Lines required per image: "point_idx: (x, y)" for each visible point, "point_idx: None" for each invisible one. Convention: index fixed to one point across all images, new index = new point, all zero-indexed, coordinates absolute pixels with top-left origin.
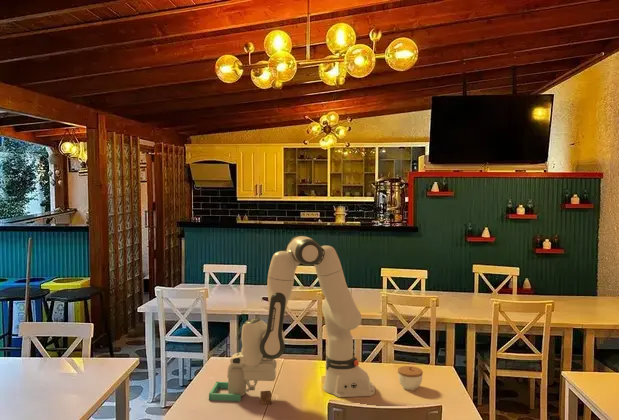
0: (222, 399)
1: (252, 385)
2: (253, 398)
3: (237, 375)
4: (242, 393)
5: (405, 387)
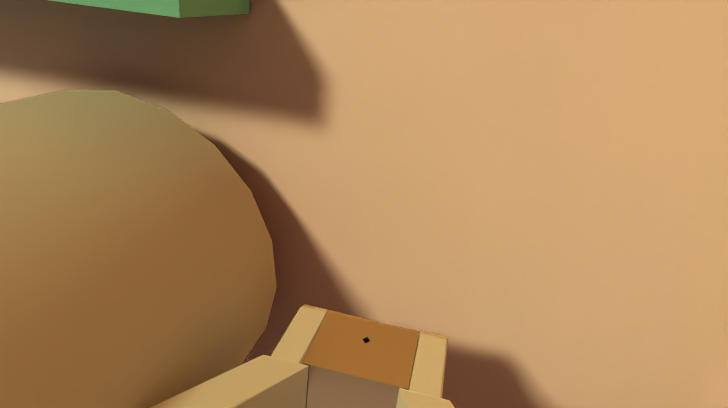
0: None
1: (366, 406)
2: None
3: None
4: None
5: None
